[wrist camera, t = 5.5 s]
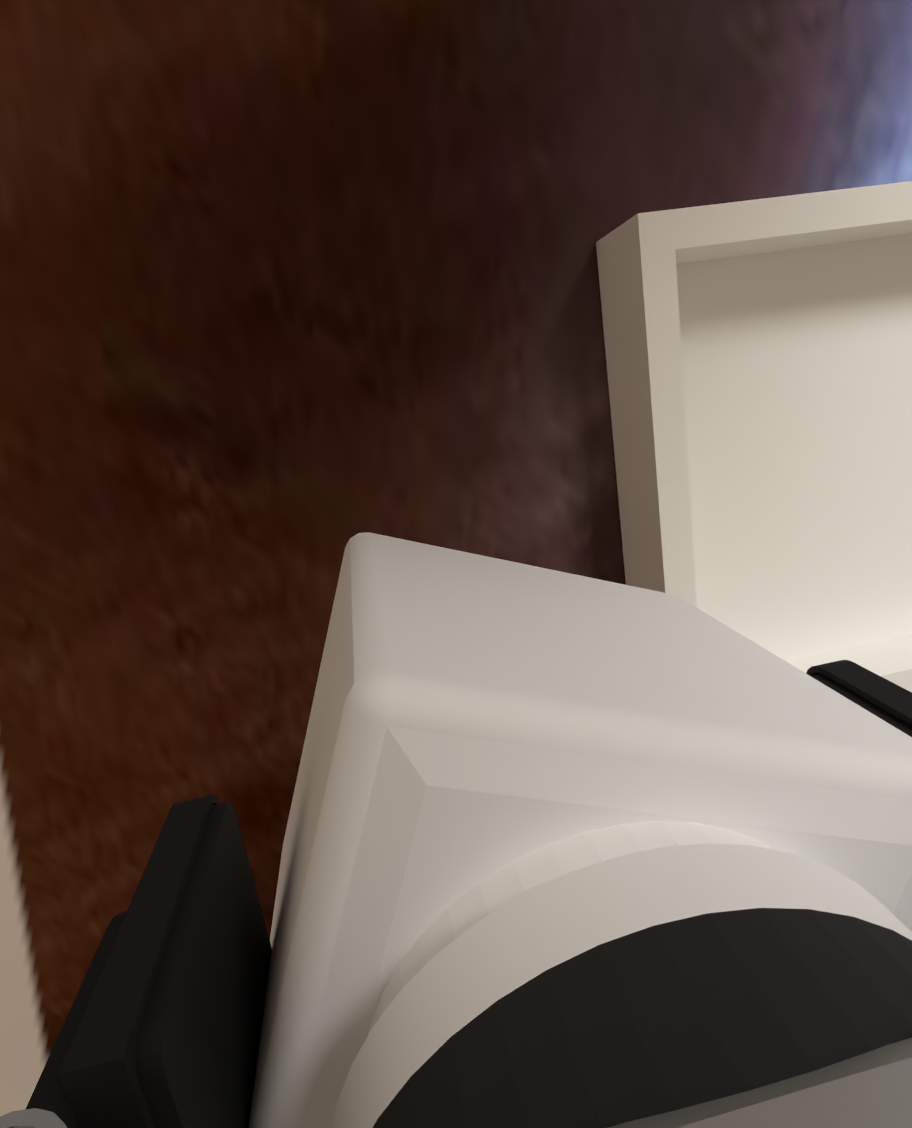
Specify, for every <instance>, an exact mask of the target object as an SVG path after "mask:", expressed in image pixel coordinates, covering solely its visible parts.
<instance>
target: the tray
mask: <svg viewBox="0 0 912 1128" xmlns="http://www.w3.org/2000/svg"><path fill="white" fill-rule="evenodd" d="M596 250H597V262H598V273H599V284H600V296H601V307H602V319H603V330H604V342H605V353H606V364H607V376H608V387H609V399H610V410H611V422H612V433H613V444H614V456H615V467H616V479H617V490H618V502H619V513H620V524H621V536H622V547H623V559H624V570H625V582H626V585H629V586H634V587H639V588H644V589H649V590H654V591H658V592H663V593H668V594H673V595H676V596H678V597H680V598H682V599H683V600H685V601H687V602H688V603H690V604H692V605H693V606H695V607H697V608H698V609H700V610H702V611H703V612H705V613H707V614H708V615H710V616H712V617H713V618H715V619H716V620H718V621H720V622H721V623H723V624H725V625H726V626H728V627H730V628H731V629H733V630H735V631H736V632H738V633H740V634H741V635H743V636H745V637H746V638H748V639H750V640H751V641H753V642H755V643H756V644H758V645H760V646H761V647H763V648H765V649H766V650H768V651H770V652H771V653H773V654H774V655H776V656H778V657H779V658H781V659H783V660H784V661H786V662H788V663H789V664H791V665H793V666H794V667H796V668H798V669H799V670H801V671H803V672H804V673H806V672H807V670H808V669H809V668H810V667H812V666H816V665H821V664H826V663H830V662H835V661H840V660H849V661H852V662H854V663H856V664H858V665H860V666H862V667H864V668H866V669H868V670H869V671H871V672H873V673H875V674H877V675H879V676H881V677H883V678H885V679H887V680H889V681H891V682H893V683H894V684H896V685H898V686H900V687H902V688H904V689H906V690H908V691H910V692H912V181H909V182H900V183H892V184H883V185H875V186H866V187H858V188H849V189H841V190H832V191H824V192H815V193H807V194H798V195H790V196H781V197H773V198H764V199H756V200H747V201H739V202H730V203H722V204H713V205H705V206H696V207H688V208H679V209H671V210H662V211H654V212H645V213H638V214H636V215H635V216H633V217H632V218H630V219H629V220H627V221H626V222H625V223H623V224H622V225H620V226H619V227H617V228H616V229H614V230H613V231H612V232H610V233H609V234H607V235H606V236H604V237H603V238H601V239H600V240H599V241H597V242H596Z"/></svg>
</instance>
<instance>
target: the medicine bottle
mask: <svg viewBox="0 0 912 1128" xmlns="http://www.w3.org/2000/svg"><path fill="white" fill-rule="evenodd" d="M270 944H271V948H272V954H271V961H270V969H269V977H268V984H267V992H266V999H265V1007H264V1014H263V1022H262V1030H261V1037H260V1045H259V1052H258V1060H257V1067H256V1075H255V1082H254V1090H253V1098H252V1105H251V1113H250V1120H249V1128H609V1127H612V1126H615V1125H619V1124H622V1123H625V1122H629V1121H633V1120H637V1119H641V1118H646V1117H650V1116H654V1115H658V1114H662V1113H667V1112H671V1111H675V1110H679V1109H682V1108H686V1107H690V1106H694V1105H697V1104H701V1103H705V1102H708V1101H712V1100H716V1099H720V1098H723V1097H727V1096H731V1095H735V1094H738V1093H742V1092H746V1091H750V1090H753V1089H756V1088H759V1087H763V1086H766V1085H769V1084H773V1083H776V1082H779V1081H782V1080H786V1079H789V1078H792V1077H796V1076H799V1075H802V1074H805V1073H809V1072H812V1071H815V1070H818V1069H821V1068H824V1067H827V1066H830V1065H832V1064H835V1063H838V1062H841V1061H844V1060H847V1059H849V1058H852V1057H855V1056H858V1055H861V1054H864V1053H867V1052H870V1051H872V1050H875V1049H878V1048H880V1047H883V1046H885V1045H889V1044H892V1043H896V1042H899V1041H902V1040H906V1039H909V1038H912V737H910V736H909V735H907V734H905V733H904V732H902V731H900V730H899V729H897V728H895V727H894V726H892V725H890V724H889V723H887V722H885V721H884V720H882V719H881V718H879V717H877V716H876V715H874V714H872V713H871V712H869V711H867V710H866V709H864V708H862V707H861V706H859V705H857V704H856V703H854V702H852V701H851V700H849V699H847V698H846V697H844V696H842V695H841V694H839V693H837V692H836V691H834V690H832V689H831V688H829V687H827V686H826V685H824V684H823V683H821V682H819V681H818V680H816V679H814V678H813V677H811V676H809V675H808V674H806V673H804V672H803V671H801V670H799V669H798V668H796V667H794V666H793V665H791V664H789V663H788V662H786V661H784V660H783V659H781V658H779V657H778V656H776V655H774V654H773V653H771V652H770V651H768V650H766V649H765V648H763V647H761V646H760V645H758V644H756V643H755V642H753V641H751V640H750V639H748V638H746V637H745V636H743V635H741V634H740V633H738V632H736V631H735V630H733V629H731V628H730V627H728V626H726V625H725V624H723V623H721V622H720V621H718V620H716V619H715V618H713V617H712V616H710V615H708V614H707V613H705V612H703V611H702V610H700V609H698V608H697V607H695V606H693V605H692V604H690V603H688V602H687V601H685V600H683V599H682V598H680V597H678V596H676V595H673V594H668V593H663V592H658V591H654V590H649V589H644V588H639V587H634V586H629V585H624V584H619V583H614V582H609V581H605V580H600V579H595V578H590V577H585V576H580V575H575V574H570V573H565V572H561V571H556V570H551V569H546V568H541V567H536V566H531V565H526V564H521V563H516V562H512V561H507V560H502V559H497V558H492V557H487V556H482V555H477V554H472V553H467V552H463V551H458V550H453V549H448V548H443V547H438V546H433V545H428V544H423V543H419V542H414V541H409V540H404V539H399V538H394V537H389V536H384V535H379V534H374V533H370V532H368V533H358V534H356V535H355V536H353V537H352V538H350V539H349V541H348V543H347V545H346V547H345V551H344V556H343V560H342V565H341V570H340V575H339V580H338V584H337V589H336V594H335V599H334V603H333V608H332V613H331V618H330V622H329V627H328V632H327V637H326V642H325V646H324V651H323V656H322V661H321V665H320V670H319V675H318V680H317V685H316V689H315V694H314V699H313V704H312V708H311V713H310V718H309V723H308V728H307V732H306V737H305V742H304V747H303V751H302V756H301V761H300V766H299V771H298V775H297V780H296V785H295V790H294V794H293V799H292V804H291V809H290V813H289V818H288V823H287V828H286V833H285V837H284V842H283V848H282V855H281V862H280V870H279V877H278V884H277V891H276V898H275V906H274V913H273V920H272V927H271V934H270Z"/></svg>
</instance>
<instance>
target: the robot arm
mask: <svg viewBox="0 0 912 1128" xmlns="http://www.w3.org/2000/svg"><path fill="white" fill-rule="evenodd" d="M806 674H808V675H809V676H811V677H813V678H814V679H816V680H818V681H819V682H821V683H823V684H824V685H826V686H827V687H829V688H831V689H832V690H834V691H836V692H837V693H839V694H841V695H842V696H844V697H846V698H847V699H849V700H851V701H852V702H854V703H856V704H857V705H859V706H861V707H862V708H864V709H866V710H867V711H869V712H871V713H872V714H874V715H876V716H877V717H879V718H881V719H882V720H884V721H885V722H887V723H889V724H890V725H892V726H894V727H895V728H897V729H899V730H900V731H902V732H904V733H905V734H907V735H909V736H910V737H912V692H910V691H908V690H906V689H904V688H902V687H900V686H898V685H896V684H894V683H893V682H891V681H889V680H887V679H885V678H883V677H881V676H879V675H877V674H875V673H873V672H871V671H869V670H868V669H866V668H864V667H862V666H860V665H858V664H856V663H854V662H852V661H849V660H840V661H835V662H830V663H826V664H821V665H816V666H812V667H810V668H809V669H808V670H807V672H806ZM271 954H272V948H271V944H270V940H269V936H268V932H267V929H266V925H265V921H264V918H263V914H262V910H261V906H260V903H259V899H258V895H257V892H256V888H255V884H254V880H253V877H252V873H251V869H250V866H249V862H248V858H247V854H246V851H245V847H244V843H243V840H242V836H241V832H240V828H239V825H238V821H237V817H236V814H235V810H234V807H233V805H232V803H230V802H227V803H222V804H220V802H219V800H218V798H217V797H216V796H215V795H211V796H207V797H202V798H197V799H193V800H188V801H183V802H179V803H175V804H173V806H172V808H171V810H170V812H169V814H168V817H167V819H166V821H165V824H164V826H163V828H162V831H161V833H160V835H159V838H158V840H157V843H156V845H155V847H154V850H153V852H152V854H151V857H150V859H149V861H148V864H147V866H146V869H145V871H144V873H143V876H142V878H141V880H140V883H139V885H138V887H137V890H136V892H135V894H134V897H133V899H132V902H131V904H130V906H129V909H128V911H127V912H123V913H119V914H118V915H116V916H115V917H114V918H113V919H112V921H111V922H110V924H109V925H108V927H107V929H106V931H105V934H104V936H103V938H102V940H101V943H100V945H99V947H98V949H97V951H96V954H95V956H94V958H93V960H92V963H91V965H90V967H89V969H88V972H87V974H86V976H85V978H84V980H83V983H82V985H81V987H80V989H79V992H78V994H77V996H76V998H75V1001H74V1003H73V1005H72V1007H71V1009H70V1012H69V1014H68V1016H67V1018H66V1021H65V1023H64V1025H63V1027H62V1029H61V1032H60V1034H59V1036H58V1038H57V1041H56V1043H55V1045H54V1047H53V1050H52V1052H51V1054H50V1056H49V1058H48V1061H47V1063H46V1065H45V1067H44V1070H43V1072H42V1074H41V1076H40V1079H39V1081H38V1083H37V1085H36V1088H35V1090H34V1092H33V1094H32V1096H31V1099H30V1101H29V1103H28V1105H27V1107H26V1110H20V1111H14V1112H11V1113H8V1114H6V1115H3V1116H1V1117H0V1128H249V1120H250V1113H251V1105H252V1098H253V1090H254V1082H255V1075H256V1067H257V1060H258V1052H259V1045H260V1037H261V1030H262V1022H263V1014H264V1007H265V999H266V992H267V984H268V977H269V969H270V961H271ZM609 1128H912V1038H909V1039H906V1040H902V1041H899V1042H896V1043H892V1044H889V1045H885V1046H883V1047H880V1048H878V1049H875V1050H872V1051H870V1052H867V1053H864V1054H861V1055H858V1056H855V1057H852V1058H849V1059H847V1060H844V1061H841V1062H838V1063H835V1064H832V1065H830V1066H827V1067H824V1068H821V1069H818V1070H815V1071H812V1072H809V1073H805V1074H802V1075H799V1076H796V1077H792V1078H789V1079H786V1080H782V1081H779V1082H776V1083H773V1084H769V1085H766V1086H763V1087H759V1088H756V1089H753V1090H750V1091H746V1092H742V1093H738V1094H735V1095H731V1096H727V1097H723V1098H720V1099H716V1100H712V1101H708V1102H705V1103H701V1104H697V1105H694V1106H690V1107H686V1108H682V1109H679V1110H675V1111H671V1112H667V1113H662V1114H658V1115H654V1116H650V1117H646V1118H641V1119H637V1120H633V1121H629V1122H625V1123H622V1124H619V1125H615V1126H612V1127H609Z"/></svg>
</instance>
